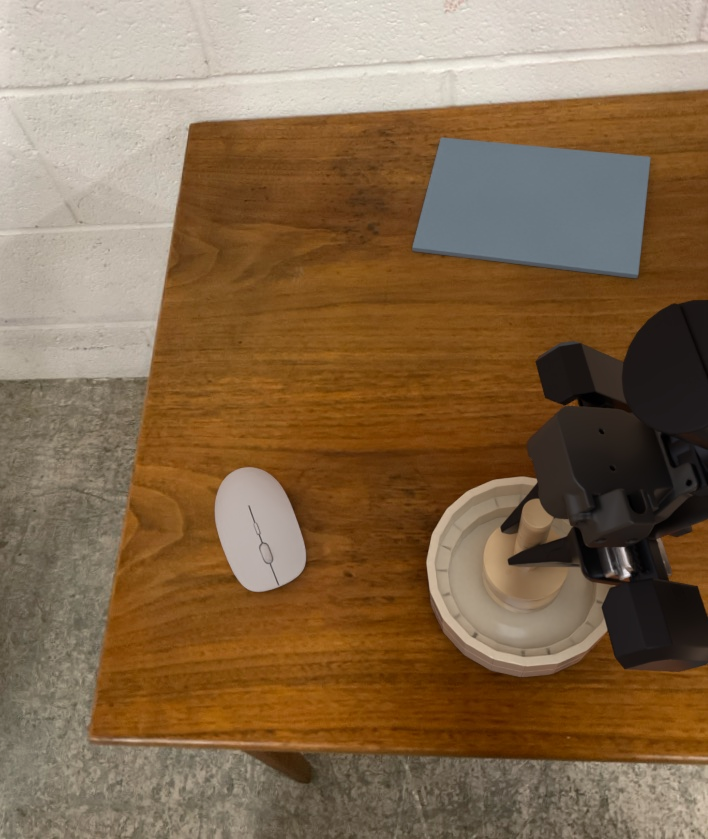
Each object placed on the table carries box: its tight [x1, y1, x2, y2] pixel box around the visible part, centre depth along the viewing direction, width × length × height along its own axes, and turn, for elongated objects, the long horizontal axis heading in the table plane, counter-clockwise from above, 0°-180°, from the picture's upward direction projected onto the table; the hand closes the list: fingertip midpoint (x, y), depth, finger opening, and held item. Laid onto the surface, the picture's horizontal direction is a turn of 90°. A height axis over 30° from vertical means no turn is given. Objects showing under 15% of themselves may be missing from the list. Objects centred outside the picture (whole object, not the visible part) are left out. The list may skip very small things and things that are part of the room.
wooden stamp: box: [482, 499, 569, 613], centre depth 51 cm, size 6×6×12 cm
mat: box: [411, 136, 652, 279], centre depth 75 cm, size 20×14×1 cm
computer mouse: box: [214, 466, 307, 593], centre depth 61 cm, size 6×10×3 cm, turn 21°
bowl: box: [425, 476, 614, 678], centre depth 57 cm, size 13×13×4 cm
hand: (508, 546), depth 51 cm, fingers closed on wooden stamp
